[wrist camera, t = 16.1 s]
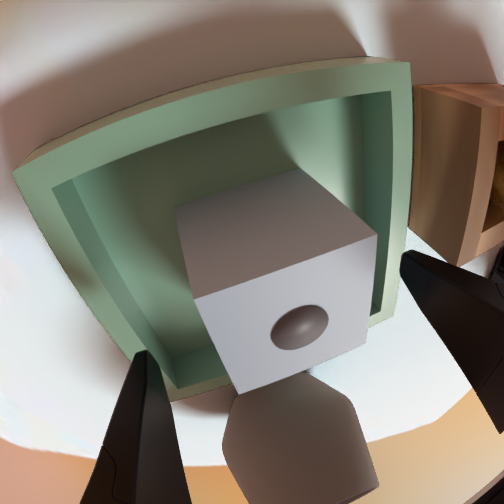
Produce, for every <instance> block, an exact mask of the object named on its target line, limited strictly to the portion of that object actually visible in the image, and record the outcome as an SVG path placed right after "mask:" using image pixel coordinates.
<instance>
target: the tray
mask: <svg viewBox="0 0 504 504" xmlns="http://www.w3.org/2000/svg"><path fill="white" fill-rule="evenodd" d="M412 135H413V121H412V86H411V70H410V62H406V61H400V60H394V59H387V58H380V57H371V56H362V57H349V58H338V59H328V60H319V61H311V62H304V63H297V64H290V65H284V66H278V67H273V68H267V69H262V70H257V71H252V72H247V73H243V74H238V75H234V76H229V77H225V78H221V79H217V80H213V81H209V82H205V83H202V84H198V85H195V86H191V87H188V88H184V89H181V90H177V91H174V92H171V93H168V94H165V95H162V96H159V97H156V98H153V99H150V100H147V101H144V102H141V103H138V104H136V105H133V106H130V107H127V108H125V109H122V110H120V111H117V112H114V113H112V114H109V115H107V116H105V117H102V118H100V119H97V120H95V121H93V122H90V123H88V124H86V125H84V126H81V127H79V128H77V129H75V130H73V131H70V132H68V133H66V134H64V135H62V136H60V137H58V138H56V139H54V140H52V141H50V142H48V143H46V144H44V145H42V146H40V147H38V148H36V149H35V150H34V151H33V152H32V153H31V154H30V155H29V156H28V157H27V158H26V159H25V160H23V161H22V162H21V163H20V164H19V165H18V166H17V167H16V168H15V169H14V170H13V171H12V172H11V173H12V175H13V177H14V179H15V182H16V184H17V186H18V188H19V190H20V192H21V194H22V196H23V198H24V200H25V202H26V204H27V206H28V208H29V210H30V212H31V214H32V216H33V218H34V219H35V221H36V223H37V225H38V227H39V229H40V230H41V232H42V234H43V236H44V237H45V239H46V241H47V243H48V244H49V246H50V248H51V249H52V251H53V253H54V254H55V256H56V258H57V259H58V261H59V263H60V264H61V266H62V268H63V269H64V271H65V272H66V274H67V275H68V277H69V278H70V280H71V282H72V283H73V285H74V286H75V288H76V289H77V291H78V292H79V294H80V295H81V296H82V298H83V299H84V301H85V302H86V304H87V305H88V307H89V308H90V309H91V311H92V312H93V314H94V315H95V316H96V318H97V319H98V320H99V322H100V323H101V324H102V326H103V327H104V328H105V330H106V331H107V332H108V334H109V335H110V336H111V338H112V339H113V340H114V342H115V343H116V344H117V345H118V347H119V348H120V349H121V350H122V352H123V353H124V354H125V355H126V357H127V358H128V359H129V360H130V361H131V362H132V360H133V357H134V355H135V353H136V352H139V351H142V350H146V349H147V350H148V351H149V352H150V353H151V354H152V356H153V357H154V358H155V360H156V361H157V362H158V364H159V366H160V369H161V372H162V376H163V380H164V384H165V387H166V391H167V394H168V398H169V401H170V402H174V401H177V400H181V399H184V398H187V397H191V396H194V395H198V394H201V393H204V392H207V391H210V390H214V389H217V388H220V387H223V386H226V385H229V384H232V383H233V382H232V380H231V378H230V376H229V374H228V372H227V370H226V368H225V366H224V364H223V362H222V360H221V358H220V356H219V354H218V352H217V350H216V347H215V345H214V343H213V341H212V339H211V337H210V335H209V333H208V330H207V328H206V326H205V324H204V322H203V319H202V317H201V315H200V313H199V311H198V308H197V306H196V304H195V302H194V299H193V295H192V291H191V286H190V282H189V278H188V273H187V269H186V264H185V260H184V255H183V251H182V246H181V241H180V236H179V231H178V226H177V222H176V216H175V211H174V207H176V206H179V205H182V204H185V203H188V202H191V201H194V200H197V199H200V198H203V197H206V196H209V195H212V194H215V193H218V192H221V191H225V190H228V189H231V188H234V187H238V186H241V185H244V184H247V183H251V182H254V181H257V180H261V179H264V178H268V177H271V176H275V175H278V174H282V173H285V172H289V171H292V170H296V169H299V168H301V169H302V170H304V171H305V172H306V173H307V174H309V175H310V176H311V177H312V178H313V179H315V180H316V181H317V182H318V183H320V184H321V185H322V186H323V187H324V188H326V189H327V190H328V191H329V192H330V193H331V194H333V195H334V196H335V197H336V198H337V199H339V200H340V201H341V202H342V203H343V204H344V205H346V206H347V207H348V208H349V209H350V210H351V211H352V212H354V213H355V214H356V215H357V216H358V217H359V218H360V219H361V220H363V221H364V222H365V223H366V224H367V225H368V226H369V227H370V228H371V229H373V230H374V231H375V232H376V233H377V249H376V262H375V273H374V283H373V292H372V301H371V309H370V317H369V324H368V328H370V327H372V326H374V325H376V324H378V323H380V322H382V321H384V320H386V319H388V318H390V317H392V316H393V315H394V310H395V305H396V299H397V294H398V288H399V282H400V273H399V268H400V261H401V255H402V254H403V253H404V249H405V241H406V233H407V223H408V213H409V202H410V188H411V171H412Z"/></svg>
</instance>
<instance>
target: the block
mask: <svg viewBox="0 0 504 504" xmlns="http://www.w3.org/2000/svg"><path fill="white" fill-rule="evenodd" d="M174 211H175V216H176V222H177V226H178V231H179V236H180V241H181V246H182V251H183V255H184V260H185V264H186V269H187V273H188V278H189V282H190V286H191V291H192V295H193V299H194V302H195V304H196V306H197V308H198V311H199V313H200V315H201V317H202V319H203V322H204V324H205V326H206V328H207V330H208V333H209V335H210V337H211V339H212V341H213V343H214V345H215V347H216V350H217V352H218V354H219V356H220V358H221V360H222V362H223V364H224V366H225V368H226V370H227V372H228V374H229V376H230V378H231V380H232V382H233V384H234V386H235V388H236V390H237V392H238V394H242V393H245V392H248V391H251V390H253V389H256V388H259V387H262V386H265V385H267V384H270V383H273V382H275V381H278V380H281V379H283V378H286V377H289V376H291V375H294V374H296V373H299V372H301V371H304V370H306V369H309V368H311V367H313V366H316V365H318V364H321V363H323V362H325V361H328V360H330V359H332V358H334V357H337V356H339V355H341V354H343V353H346V352H348V351H350V350H352V349H354V348H356V347H359V346H361V345H363V344H365V343H366V338H367V331H368V324H369V317H370V309H371V301H372V292H373V283H374V273H375V262H376V249H377V233H376V232H375V231H374V230H373V229H371V228H370V227H369V226H368V225H367V224H366V223H365V222H364V221H363V220H361V219H360V218H359V217H358V216H357V215H356V214H355V213H354V212H352V211H351V210H350V209H349V208H348V207H347V206H346V205H344V204H343V203H342V202H341V201H340V200H339V199H337V198H336V197H335V196H334V195H333V194H331V193H330V192H329V191H328V190H327V189H326V188H324V187H323V186H322V185H321V184H320V183H318V182H317V181H316V180H315V179H313V178H312V177H311V176H310V175H309V174H307V173H306V172H305V171H304V170H302V169H301V168H299V169H296V170H292V171H289V172H285V173H282V174H278V175H275V176H271V177H268V178H264V179H261V180H257V181H254V182H251V183H247V184H244V185H241V186H238V187H234V188H231V189H228V190H225V191H221V192H218V193H215V194H212V195H209V196H206V197H203V198H200V199H197V200H194V201H191V202H188V203H185V204H182V205H179V206H176V207H174Z"/></svg>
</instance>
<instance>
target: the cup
mask: <svg viewBox="0 0 504 504" xmlns="http://www.w3.org/2000/svg"><path fill="white" fill-rule="evenodd" d="M222 450H223V454H224V457H225V460H226V463H227V465H228V467H229V469H230V471H231V472H232V474H233V476H234V478H235V480H236V481H237V483H238V485H239V487H240V489H241V490H242V492H243V494H244V496H245V497H246V499H247V501H248V503H249V504H349V503H351V502H353V501H355V500H357V499H359V498H361V497H363V496H365V495H366V494H368V493H370V492H372V491H373V490H375V489H376V488H378V487H379V482H378V479H377V476H376V472H375V469H374V466H373V463H372V460H371V457H370V454H369V451H368V447H367V444H366V441H365V438H364V435H363V432H362V429H361V426H360V423H359V420H358V417H357V414H356V411H355V408H354V406H353V404H352V403H351V401H350V400H349V399H348V398H347V397H346V396H345V395H343V394H342V393H340V392H338V391H337V390H335V389H333V388H332V387H330V386H328V385H327V384H325V383H324V382H322V381H320V380H319V379H317V378H315V377H313V376H311V375H309V374H307V373H304V372H299V373H296V374H294V375H291V376H289V377H286V378H283V379H281V380H278V381H275V382H273V383H270V384H267V385H265V386H262V387H259V388H256V389H253V390H251V391H248V392H245V393H242V394H239V395H238V396H237V397H236V398H235V400H234V402H233V404H232V406H231V409H230V412H229V416H228V420H227V424H226V428H225V432H224V437H223V441H222Z"/></svg>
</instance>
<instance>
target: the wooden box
mask: <svg viewBox="0 0 504 504" xmlns="http://www.w3.org/2000/svg"><path fill="white" fill-rule="evenodd" d="M413 89H414V165H413V183H412V197H411V209H410V219H409V229H410V230H411V231H413V232H414V233H415V234H416V235H417V236H419V237H420V238H421V239H422V240H423V241H424V242H426V243H427V244H428V245H429V246H430V247H431V248H432V249H434V250H435V251H436V252H437V253H438V254H439V255H440V256H441V257H443V258H444V259H445V260H446V261H447V262H448V263H449V264H452V265H455V266H457V267H460V266H462V265H464V264H466V263H467V262H469V261H471V260H472V259H474V258H476V257H478V256H479V255H481V254H483V253H484V252H486V251H487V250H489V249H491V248H492V247H494V246H496V245H497V244H499V243H500V242H502V241H503V240H504V209H503V208H502V207H500V206H499V205H497V204H496V203H494V202H493V201H491V200H490V199H489V198H490V193H491V187H492V182H493V176H494V170H495V163H496V156H497V148H498V141H503V142H504V85H501V84H493V83H458V84H432V85H417V86H413Z"/></svg>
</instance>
